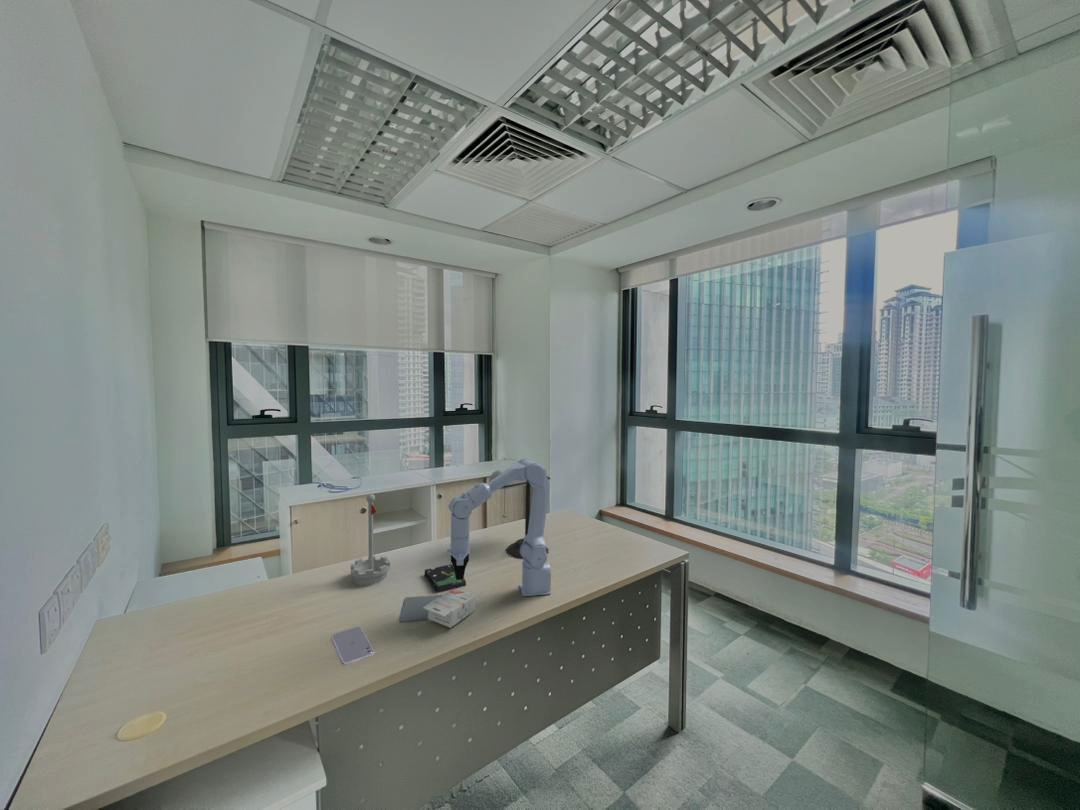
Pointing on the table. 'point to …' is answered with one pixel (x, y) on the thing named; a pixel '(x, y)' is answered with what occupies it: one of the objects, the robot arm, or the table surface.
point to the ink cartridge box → (450, 607)
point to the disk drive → (443, 578)
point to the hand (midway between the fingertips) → (459, 578)
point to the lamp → (515, 547)
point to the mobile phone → (352, 645)
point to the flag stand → (370, 557)
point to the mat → (416, 608)
